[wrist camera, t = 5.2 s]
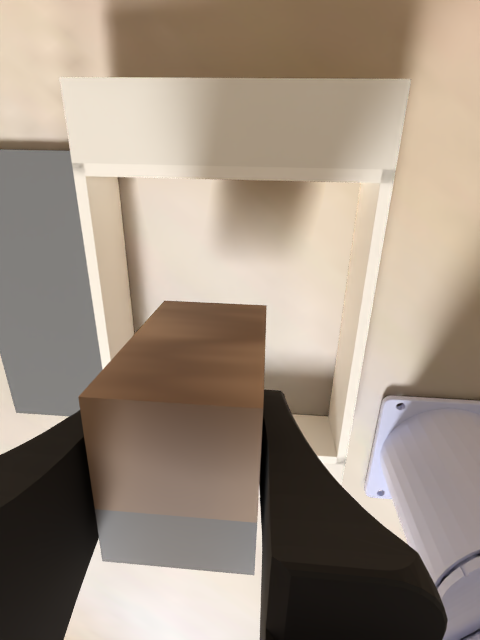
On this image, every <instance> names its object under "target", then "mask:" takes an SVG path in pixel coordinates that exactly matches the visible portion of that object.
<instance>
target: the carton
mask: <svg viewBox="0 0 480 640" xmlns="http://www.w3.org/2000/svg"><path fill="white" fill-rule="evenodd" d="M59 80H60V86H61V93H62V100H63V107H64V113H65V120H66V127H67V134H68V140H69V147H70V154H71V161H72V167H73V174H74V181H75V187H76V194H77V201H78V208H79V214H80V221H81V228H82V235H83V241H84V248H85V255H86V262H87V268H88V275H89V282H90V289H91V295H92V302H93V309H94V315H95V322H96V329H97V336H98V342H99V349H100V356H101V363H102V369H104V368H105V367H106V365H107V364H108V363H109V362H110V361H111V360H112V359H113V358H114V356H115V355H116V354H117V353H118V352H119V351H120V350H121V349H122V348H123V346H124V345H125V344H126V343H127V342H128V341H129V340H130V339H131V338H132V336H133V335H134V326H133V317H132V307H131V297H130V288H129V278H128V269H127V259H126V250H125V240H124V231H123V221H122V211H121V202H120V192H119V183H118V177H139V178H182V179H225V180H268V181H310V182H353V183H360V189H359V196H358V204H357V211H356V218H355V225H354V233H353V240H352V247H351V254H350V262H349V269H348V276H347V283H346V291H345V298H344V305H343V312H342V320H341V327H340V334H339V342H338V349H337V356H336V363H335V371H334V378H333V385H332V392H331V400H330V407H329V414H328V416H313V415H297V414H292V415H293V417H294V419H295V421H296V423H297V425H298V426H299V428H300V430H301V432H302V433H303V435H304V437H305V438H306V440H307V442H308V443H309V445H310V446H311V448H312V449H313V451H314V452H315V454H316V455H317V456H318V458H319V459H320V460H321V462H322V463H323V464H324V466H325V467H326V468H327V469H328V471H329V472H330V473H331V474H332V476H333V477H334V478H335V479H336V480H337V481H338V482H339V484H340V485H341V486H342V481H343V475H344V470H345V464H346V458H347V452H348V446H349V440H350V434H351V429H352V423H353V417H354V411H355V405H356V399H357V394H358V388H359V382H360V376H361V370H362V364H363V359H364V353H365V347H366V341H367V335H368V329H369V323H370V318H371V312H372V306H373V300H374V294H375V288H376V283H377V277H378V271H379V265H380V259H381V253H382V248H383V242H384V236H385V230H386V224H387V218H388V212H389V207H390V201H391V195H392V189H393V183H394V177H395V172H396V166H397V160H398V154H399V148H400V142H401V136H402V131H403V125H404V119H405V113H406V107H407V101H408V96H409V90H410V84H411V79H341V78H159V77H59ZM258 498H260V489H259V497H258Z"/></svg>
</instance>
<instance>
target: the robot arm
mask: <svg viewBox="0 0 480 640" xmlns="http://www.w3.org/2000/svg"><path fill="white" fill-rule="evenodd" d="M399 403H403V404H402V405H401V406H397V404H399ZM259 489H260V506H261V523H262V582H261V616H260V640H480V401H475V400H458V399H442V398H425V397H408V396H387V397H385V398H384V399H383V401H382V404H381V409H380V414H379V419H378V423H377V428H376V433H375V438H374V443H373V448H372V453H371V458H370V463H369V468H368V472H367V477H366V482H365V487H364V490H365V493H366V495H367V496H369V497H372V498H385V499H392V500H393V503H394V506H395V509H396V511H397V514H398V517H399V520H400V523H401V526H402V528H403V531H404V534H405V537H406V540H407V542H408V544H406V543H405V542H404V541H402V540H401V539H400V538H398V537H397V536H396V535H395V534H393V533H392V532H391V531H389V530H388V529H387V528H385V527H384V526H383V525H382V524H381V523H379V522H378V521H377V520H376V519H375V518H374V517H373V516H372V515H370V514H369V513H368V512H367V511H366V510H365V509H364V508H363V507H362V506H361V505H360V504H359V503H358V502H357V501H356V500H355V499H354V498H353V497H352V496H351V495H350V494H349V493H348V492H347V491H346V490H345V489H344V488H343V487H342V486H341V485H340V484H339V482H338V481H337V480H336V479H335V478H334V477H333V476H332V474H331V473H330V472H329V471H328V469H327V468H326V467H325V466H324V464H323V463H322V462H321V460H320V459H319V458H318V456H317V455H316V454H315V452H314V451H313V449H312V448H311V446H310V445H309V443H308V442H307V440H306V438H305V437H304V435H303V433H302V432H301V430H300V428H299V426H298V425H297V423H296V421H295V419H294V417H293V415H292V413H291V411H290V409H289V407H288V404H287V402H286V399H285V396H284V394H283V393H282V392H281V391H276V390H264V402H263V423H262V442H261V460H260V478H259ZM379 490H382V491H379ZM98 538H99V534H98V528H97V521H96V514H95V507H94V500H93V494H92V487H91V480H90V473H89V466H88V460H87V453H86V446H85V439H84V432H83V426H82V419H81V412H80V410H79V411H77V412H76V413H74V414H73V415H71V416H70V417H68V418H66V419H65V420H63V421H62V422H60V423H58V424H57V425H55V426H54V427H52V428H50V429H49V430H47V431H45V432H44V433H42V434H40V435H38V436H37V437H35V438H33V439H31V440H29V441H27V442H25V443H24V444H22V445H20V446H18V447H16V448H14V449H12V450H10V451H8V452H6V453H3V454H1V455H0V640H64V637H65V633H66V630H67V627H68V624H69V621H70V618H71V615H72V612H73V609H74V606H75V603H76V600H77V597H78V594H79V591H80V588H81V585H82V582H83V580H84V577H85V574H86V571H87V568H88V565H89V563H90V560H91V557H92V555H93V552H94V549H95V546H96V544H97V541H98Z"/></svg>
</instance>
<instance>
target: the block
mask: <svg viewBox="0 0 480 640" xmlns="http://www.w3.org/2000/svg"><path fill="white" fill-rule="evenodd" d="M265 335H266V306H264V305H243V304H222V303H200V302H179V301H164V302H163V303H162V304H161V305H160V306H159V307H158V309H157V310H156V311H155V312H154V313H153V314H152V315H151V316H150V318H149V319H148V320H147V321H146V322H145V323H144V324H143V325H142V326H141V328H140V329H139V330H138V331H137V332H136V333H135V334H134V335H133V336H132V338H131V339H130V340H129V341H128V342H127V343H126V344H125V345H124V346H123V348H122V349H121V350H120V351H119V352H118V353H117V354H116V355H115V356H114V358H113V359H112V360H111V361H110V362H109V363H108V364H107V365H106V367H105V368H104V369H103V370H102V371H101V372H100V373H99V374H98V375H97V377H96V378H95V379H94V380H93V381H92V382H91V383H90V384H89V385H88V387H87V388H86V389H85V390H84V391H83V392H82V393H81V394H80V395H79V397H78V398H79V405H80V412H81V419H82V426H83V432H84V439H85V446H86V453H87V460H88V466H89V473H90V480H91V487H92V494H93V500H94V507H95V514H96V521H97V528H98V534H99V541H100V548H101V555H102V561H107V562H117V563H128V564H139V565H150V566H161V567H171V568H182V569H193V570H204V571H215V572H225V573H236V574H247V575H254V570H255V552H256V533H257V515H258V497H259V478H260V460H261V442H262V423H263V402H264V368H265Z"/></svg>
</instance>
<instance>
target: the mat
mask: <svg viewBox="0 0 480 640" xmlns="http://www.w3.org/2000/svg"><path fill="white" fill-rule="evenodd" d="M0 354H1V358H2V362H3V365H4V369H5V373H6V377H7V380H8V384H9V388H10V391H11V395H12V399H13V403H14V406H15V410H16V413H28V414H43V415H58V416H71V415H73V414H74V413H76V412H77V411H79V410H80V405H79V398H78V397H79V395H80V394H81V393H82V392H83V391H84V390H85V389H86V388H87V387H88V385H89V384H90V383H91V382H92V381H93V380H94V379H95V378H96V377H97V375H98V374H99V373H100V372H101V371H102V370H103V369H102V363H101V356H100V349H99V342H98V336H97V329H96V322H95V315H94V309H93V302H92V295H91V289H90V282H89V275H88V268H87V262H86V255H85V248H84V241H83V235H82V228H81V221H80V214H79V208H78V201H77V194H76V187H75V181H74V174H73V167H72V161H71V154H70V151H54V150H1V149H0Z"/></svg>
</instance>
